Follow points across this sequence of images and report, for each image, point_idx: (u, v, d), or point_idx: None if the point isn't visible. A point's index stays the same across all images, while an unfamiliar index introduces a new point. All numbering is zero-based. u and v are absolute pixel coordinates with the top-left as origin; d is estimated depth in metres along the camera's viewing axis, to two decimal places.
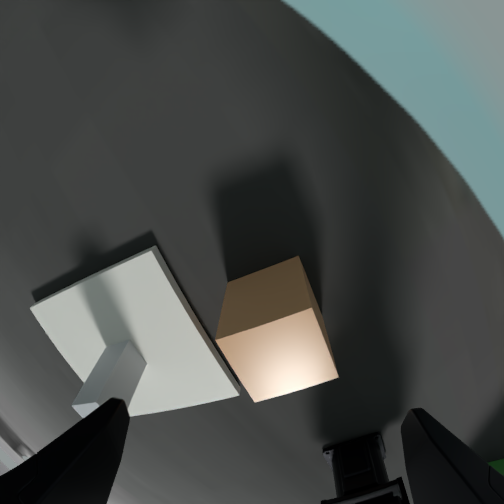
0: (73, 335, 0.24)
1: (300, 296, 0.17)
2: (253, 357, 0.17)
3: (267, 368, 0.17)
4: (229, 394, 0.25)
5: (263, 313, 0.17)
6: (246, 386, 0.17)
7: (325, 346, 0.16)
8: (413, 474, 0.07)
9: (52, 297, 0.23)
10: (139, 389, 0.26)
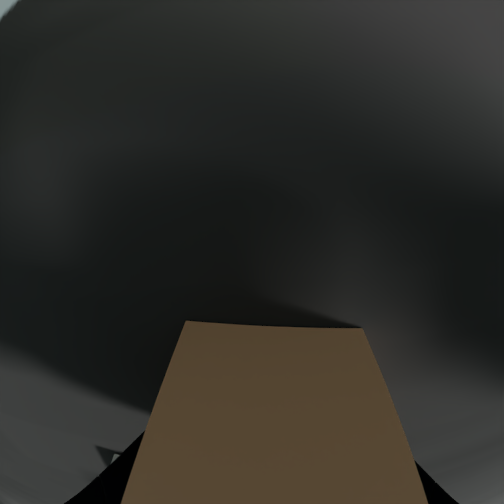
0: None
1: None
2: None
3: None
4: None
5: None
6: None
7: None
8: None
9: None
10: None
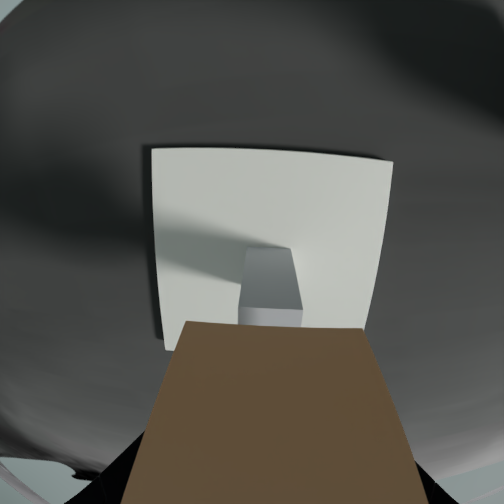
0: (216, 319, 0.21)
1: None
2: None
3: None
4: (386, 173, 0.17)
5: None
6: None
7: None
8: None
9: (161, 309, 0.21)
10: (326, 289, 0.20)
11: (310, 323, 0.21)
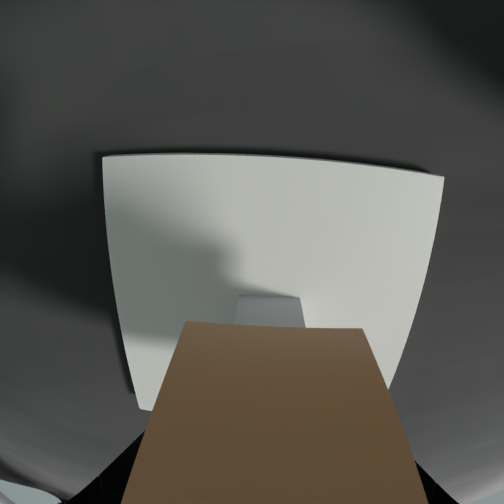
0: None
1: None
2: None
3: None
4: (434, 193, 0.12)
5: None
6: None
7: None
8: None
9: (130, 365, 0.15)
10: None
11: None
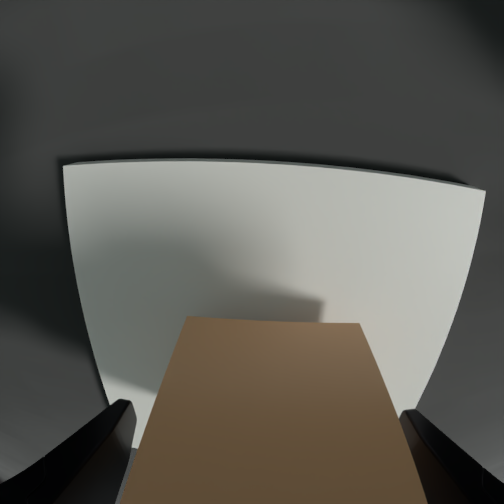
0: None
1: None
2: None
3: None
4: (474, 210, 0.09)
5: None
6: None
7: None
8: None
9: None
10: None
11: None
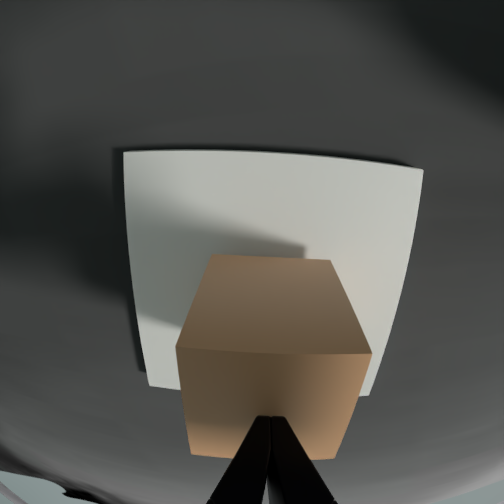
0: None
1: None
2: (241, 438, 0.09)
3: None
4: (414, 184, 0.14)
5: None
6: None
7: (276, 355, 0.08)
8: (269, 487, 0.07)
9: (142, 342, 0.17)
10: None
11: None
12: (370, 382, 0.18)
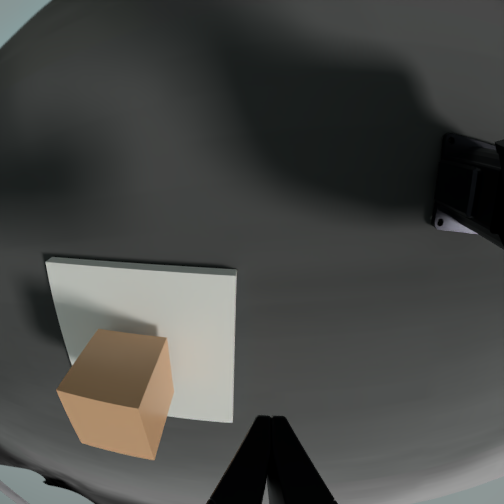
0: None
1: None
2: (99, 437, 0.16)
3: (112, 437, 0.16)
4: (229, 286, 0.20)
5: None
6: (132, 455, 0.16)
7: (95, 400, 0.14)
8: (269, 487, 0.07)
9: None
10: (190, 373, 0.23)
11: (184, 395, 0.24)
12: (229, 413, 0.24)
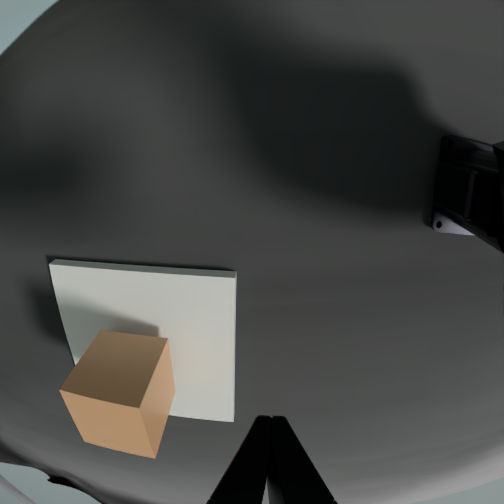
0: None
1: None
2: (101, 436, 0.16)
3: (114, 436, 0.16)
4: (228, 288, 0.21)
5: None
6: (133, 453, 0.17)
7: (97, 400, 0.15)
8: (269, 487, 0.07)
9: None
10: (191, 372, 0.23)
11: (185, 394, 0.24)
12: (230, 413, 0.25)
